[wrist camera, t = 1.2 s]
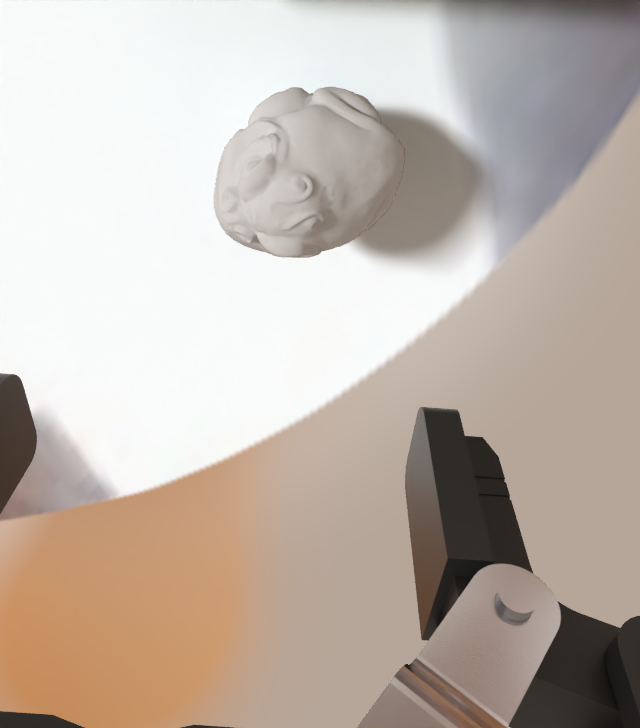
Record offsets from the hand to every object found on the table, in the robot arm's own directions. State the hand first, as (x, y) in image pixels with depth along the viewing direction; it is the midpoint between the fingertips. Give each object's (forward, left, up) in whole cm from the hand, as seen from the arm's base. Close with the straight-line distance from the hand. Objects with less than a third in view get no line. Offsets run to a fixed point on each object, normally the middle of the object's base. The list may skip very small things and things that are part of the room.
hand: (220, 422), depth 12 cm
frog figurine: (-1, +1, -17) cm, 17 cm away
